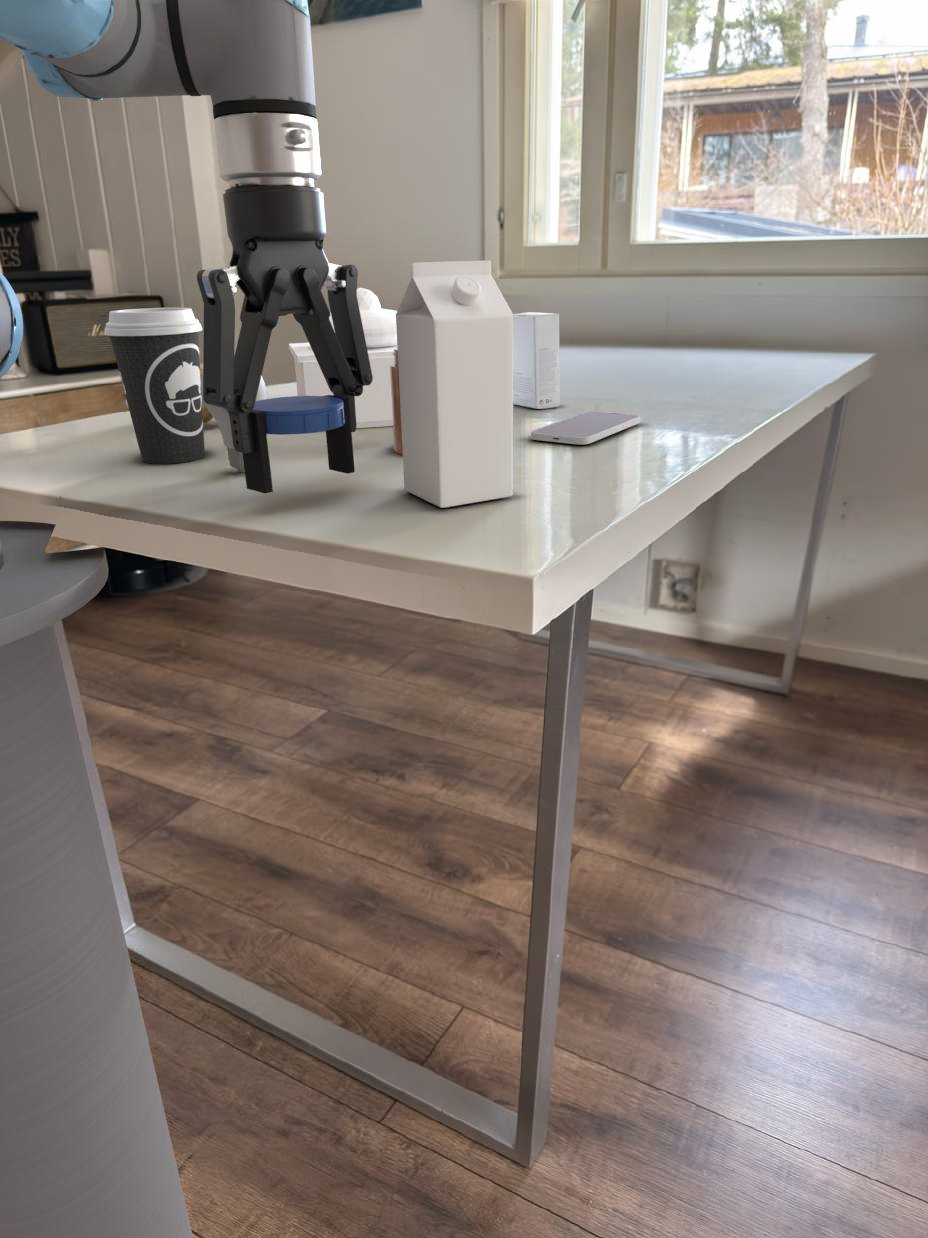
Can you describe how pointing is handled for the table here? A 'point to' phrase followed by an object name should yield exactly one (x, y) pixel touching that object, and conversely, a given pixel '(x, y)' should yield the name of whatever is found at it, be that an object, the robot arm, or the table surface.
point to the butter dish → (380, 346)
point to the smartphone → (585, 427)
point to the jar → (396, 404)
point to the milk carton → (456, 384)
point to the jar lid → (301, 414)
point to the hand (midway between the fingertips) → (302, 479)
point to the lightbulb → (225, 427)
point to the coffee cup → (161, 380)
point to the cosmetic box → (536, 360)
